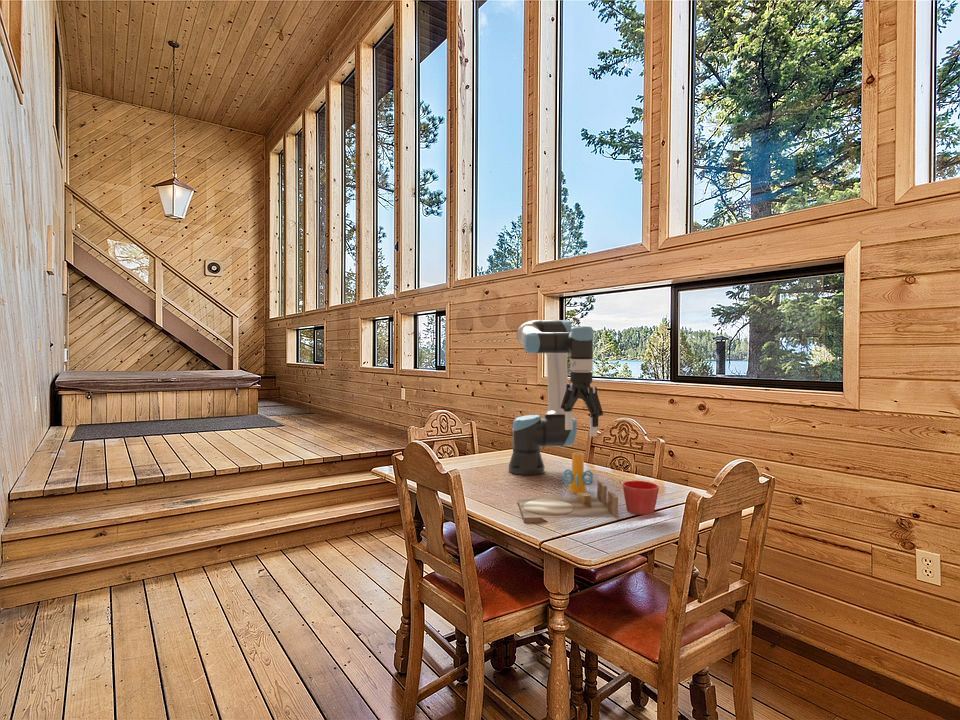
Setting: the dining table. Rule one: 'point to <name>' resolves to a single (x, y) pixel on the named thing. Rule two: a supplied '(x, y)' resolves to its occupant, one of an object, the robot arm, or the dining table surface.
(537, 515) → the board
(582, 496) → the wooden block
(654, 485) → the flower pot
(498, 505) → the dining table surface
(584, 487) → the cylinder
